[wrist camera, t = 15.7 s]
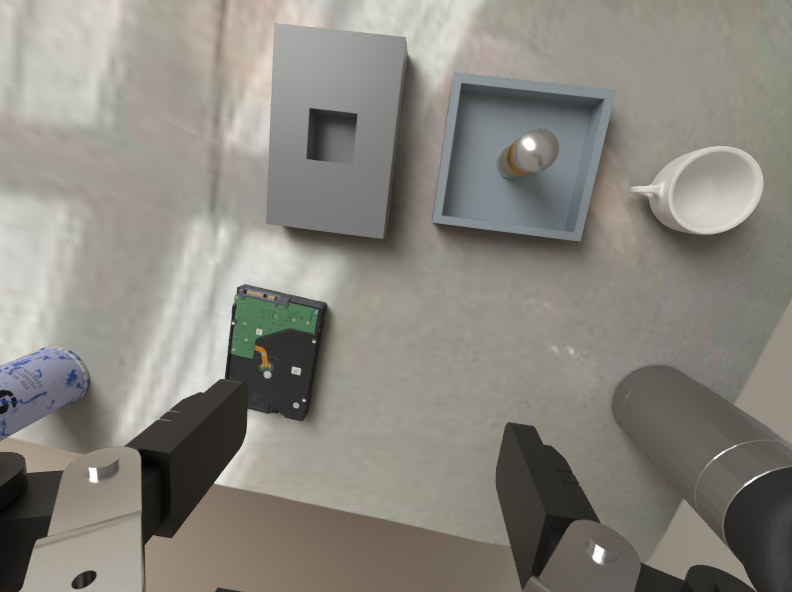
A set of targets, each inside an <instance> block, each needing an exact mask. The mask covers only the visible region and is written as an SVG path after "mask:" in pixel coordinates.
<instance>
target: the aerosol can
mask: <svg viewBox="0 0 792 592" xmlns="http://www.w3.org/2000/svg"><path fill="white" fill-rule="evenodd" d="M88 385H89V376H88V371H87V369H86V367H85V365H84V363H83V362H82V361H81V359H80V358H79V357H78V356H77V355H76V354H74V353H73V352H71V351H70V350H68V349H66V348H63V347H60V346H48V347H44V348H41V349H39V350H37V351H36V352H35V353H32V354H29V355H27V356H24V357H21V358H19V359H16V360H14V361H11V362H8V363H6V364H3V365H0V441H1V440H3V439H5V438H7V437H9V436H10V435H12V434H14V433H16V432H18V431H19V430H21V429H23V428H25V427H27V426H28V425H30V424H32V423H34V422H36V421H37V420H39V419H41V418H43V417H45V416H46V415H48V414H50V413H52V412H54V411H55V410H57V409H59V408H61V407H63V406H64V405H66V404H68V403H71V402H74V401H76V400H78V399H79V398H81V397H82V396H84V394H85V393H86V391H87V389H88Z"/></svg>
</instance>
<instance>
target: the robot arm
mask: <svg viewBox="0 0 792 592" xmlns="http://www.w3.org/2000/svg"><path fill="white" fill-rule="evenodd" d="M612 407H613V414H614V417H615V419H616V421H617V422H618V424H619V425H620V426H621V427H622V429H623V430H624V431H625V432H626V433H627V434H628V435H629V436H630V438H631V439H632V440H633V441H634V442H635V443H636V445H637V446H638V447H639V448H640V449H641V450H642V451H643V452H644V454H645V455H646V456H647V457H648V458H649V459H650V460H651V461H652V463H653V464H654V465H655V466H656V467H657V468H658V469H659V471H660V472H661V473H662V474H663V475H664V476H665V477H666V478H667V480H668V481H669V482H670V483H671V484H672V485H673V486H674V487H675V489H676V490H677V491H678V492H679V493H680V494H681V495H682V496H683V498H684V499H685V500H686V501H687V502H688V503H689V504H690V505H691V506H692V508H693V509H694V510H695V511H696V512H697V513H698V514H699V516H700V517H701V518H702V519H703V520H704V521H705V522H706V523H707V524H708V526H709V527H710V528H711V529H712V530H713V531H714V532H715V533H716V535H717V536H718V537H719V538H720V539H721V540H722V541H723V542H724V544H725V545H726V546H727V547H728V548H729V549H730V550H731V551H732V553H733V554H734V555H735V556H736V557H737V558H738V560H739V561H740V562H741V563H742V564H743V566H744V568H745V571H746V573H747V575H748V577H749V579H750V581H751V583H752V585H753V586H754V588H755V589H756V590H757V592H792V443H790V442H789V441H787V440H785V439H784V438H782V437H781V436H779V435H778V434H776V433H775V432H773V431H772V430H771V429H770V428H769V427H767V426H766V425H764V424H762V423H761V422H759V421H758V420H756V419H755V418H753V417H752V416H750V415H748V414H747V413H745V412H744V411H742V410H741V409H739V408H737V407H736V406H735V405H733V404H731V403H730V402H728V401H727V400H725V399H724V398H722V397H721V396H719V395H718V394H716V393H714V392H713V391H711V390H710V389H708V388H707V387H705V386H704V385H702V384H700V383H698V382H696V381H695V380H693V379H692V378H690V377H688V376H687V375H685V374H684V373H682V372H681V371H679V370H677V369H674V368H672V367H667V366H650V367H645V368H642V369H640V370H637V371H635V372H633V373H632V374H630V375H629V376H627V377H626V378H625V379H624V380H623V381H622V382H621V384H620V385H619V386H618V388H617V389H616V392H615V394H614V397H613V403H612ZM247 408H248V386H247V384H246V383H245V382H239V381H233V380H226V379H220V380H219V381H217V382H216V383H215V384H214V385H213V386H211V387H210V388H209V389H208V390H207V391H205V392H204V393H202V392H199V393H197V394H194V395H192V396H190V397H187V398H185V399H183V400H182V401H180V402H179V403H178V404H177V405H175V406H174V407H173V408H172V409H170V412H167V413H165V414H164V415H163V416H162V417H160V420H157V421H155V422H154V423H153V424H152V425H150V426H149V427H148V428H147V429H145V430H144V431H143V432H142V433H140V434H139V435H138V436H137V437H135V438H134V439H133V440H132V441H130V442H129V443H128V444H127V445H125V446H124V447H121V446H117V447H108V448H103V449H99V450H96V451H93V452H90V453H88V454H85V455H83V456H81V457H80V458H78V459H77V460H75V461H73V462H72V463H71V464H70V465H69V466H68V467H67V468H66V469H65V470H64V471H50V472H35V473H27V471H26V463H25V458H24V457H23V456H22V455H20V454H18V453H13V452H0V592H19V591H20V590H21V588H22V592H146V580H145V544H146V543H147V542H148V540H149V539H150V538H151V537H152V536H153V535H156V536H161V537H167V538H172V537H173V536H174V535H175V533H176V532H177V531H178V529H179V528H180V527H181V525H182V524H183V522H184V521H185V520H186V519H187V517H188V516H189V515H190V514H191V512H192V511H193V510H194V508H195V507H196V506H197V504H198V503H199V502H200V500H201V499H202V498H203V496H204V495H205V494H206V492H207V491H208V490H209V488H210V487H211V486H212V485H213V483H214V482H215V481H216V479H217V478H218V477H219V475H220V474H221V473H222V471H223V470H224V469H225V467H226V466H227V465H228V464H229V462H230V461H231V460H232V458H233V457H234V456H235V454H236V453H237V452H238V450H239V449H240V447H241V446H242V444H243V441H244V438H245V435H246V430H247ZM496 489H497V493H498V497H499V501H500V505H501V509H502V513H503V517H504V521H505V525H506V529H507V533H508V537H509V541H510V545H511V549H512V553H513V556H514V561H515V564H516V568H517V572H518V576H519V580H520V584H521V588H522V592H756V591H755V590H753V589H752V588H751V587H749V586H748V585H747V584H745V583H744V582H742V581H741V580H739V579H738V578H736V577H734V576H733V575H730V574H729V573H727V572H724V571H722V570H720V569H717V568H714V567H711V566H706V565H695V566H692V567H691V568H690V569H689V570H688V572H687V575H686V577H685V580H681V579H679V578H676V577H674V576H672V575H669V574H667V573H664V572H662V571H659V570H657V569H654V568H652V567H649V566H647V565H645V564H643V563H641V562H640V559H639V556H638V554H637V552H636V551H635V549H634V548H633V547H632V545H631V544H630V543H629V542H628V541H627V540H626V539H625V538H624V537H623V536H621V535H620V534H619V533H617V532H616V531H614V530H613V529H611V528H609V527H607V526H605V525H603V524H601V522H600V521H599V519H598V517H597V515H596V513H595V512H594V510H593V508H592V506H591V504H590V503H589V501H588V499H587V497H586V495H585V494H584V492H583V490H582V488H581V486H579V483H578V481H577V479H576V477H575V476H574V475H573V474H572V470H571V468H570V466H569V465H568V463H567V461H566V459H565V458H564V457H563V456H562V455H561V454H560V453H559V452H558V451H556V450H555V449H554V448H553V447H552V446H549V445H543V443H542V441H541V439H540V437H539V435H538V433H537V431H536V429H535V427H534V426H531V425H524V424H517V423H511V422H508V423H507V424H506V426H505V430H504V434H503V439H502V444H501V448H500V453H499V458H498V462H497V467H496ZM215 592H240V591H234V590H228V589H223V588H217V590H216V591H215Z"/></svg>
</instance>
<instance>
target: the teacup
mask: <svg viewBox="0 0 792 592" xmlns="http://www.w3.org/2000/svg"><path fill="white" fill-rule="evenodd" d="M762 191H763V175H762V172H761V169H760V167H759V165H758V163H757V162H756V161H755V159H754V158H753V157H752V156H750V155H749V154H748V153H746V152H744V151H742V150H740V149H737V148H733V147H726V146H716V147H708V148H704V149H700V150H697V151H693V152H690V153H687V154H685V155H682V156H680V157H678V158H676V159H675V160H673V161H672V162H670V163H669V164H668V165H667V166H665V167H664V168H663V169H662V170H661V171H660V172H659V173H658V174H657V176H656V177H655V179H654V181H653V182H652V184H650V185H648V186H635V187H631V188H630V193H636V194H641V195H644V196H646V197H647V198H648V199H649V203H650V207H651V210H652V212H653V214H654V215H655V217H656V218H657V219H658V220H659V221H660V222H661V223H662V224H664V225H665V226H667V227H669V228H671V229H674V230H677V231H681V232H686V233H691V234H699V235H710V234H716V233H720V232H724V231H727V230H729V229H732V228H734V227H735V226H737V225H739V224H740V223H742V222H743V221H744V220H745V219H746V218H747V217H748V216H749V215H750V214H751V213H752V212H753V211H754V209H755V208H756V206H757V204H758V203H759V200H760V198H761V195H762Z"/></svg>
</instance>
